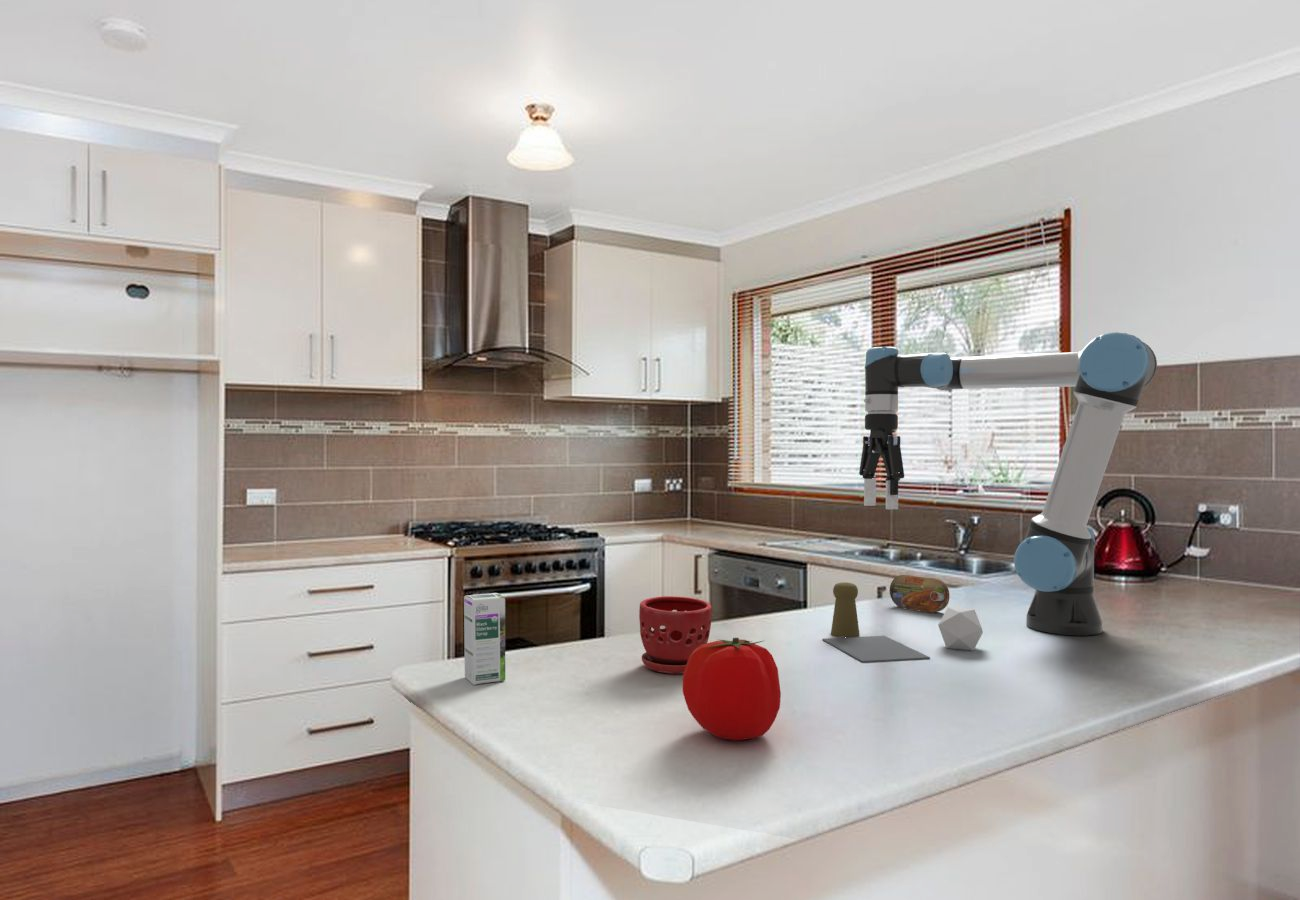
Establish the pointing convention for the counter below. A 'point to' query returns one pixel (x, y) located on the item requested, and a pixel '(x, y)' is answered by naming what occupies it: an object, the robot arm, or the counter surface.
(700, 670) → the tomato
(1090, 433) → the robot arm
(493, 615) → the syrup box
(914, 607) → the tin
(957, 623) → the die
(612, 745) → the counter surface
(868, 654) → the mat
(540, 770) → the counter surface
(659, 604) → the plant pot
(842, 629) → the cork
